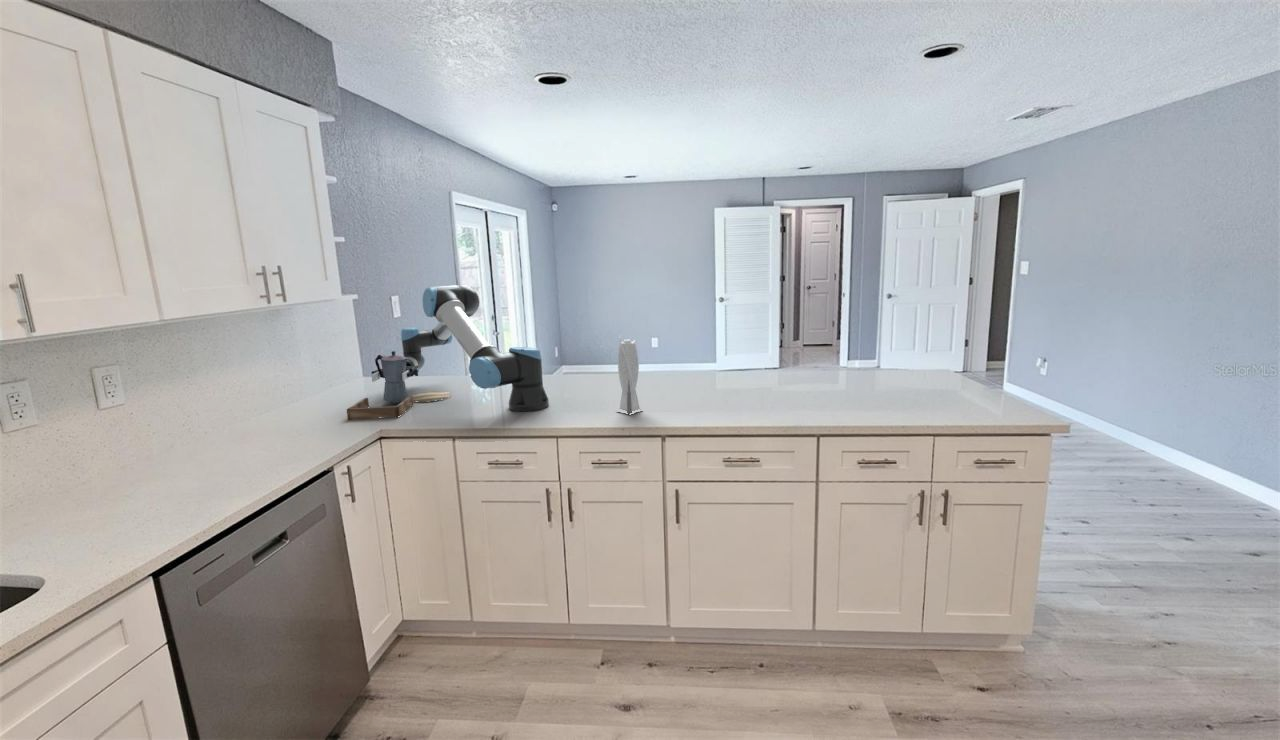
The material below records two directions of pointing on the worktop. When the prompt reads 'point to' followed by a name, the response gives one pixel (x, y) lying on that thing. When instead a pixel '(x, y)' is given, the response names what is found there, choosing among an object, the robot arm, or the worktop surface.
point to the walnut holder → (377, 409)
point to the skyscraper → (628, 375)
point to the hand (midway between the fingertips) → (388, 377)
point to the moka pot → (393, 376)
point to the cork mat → (431, 396)
